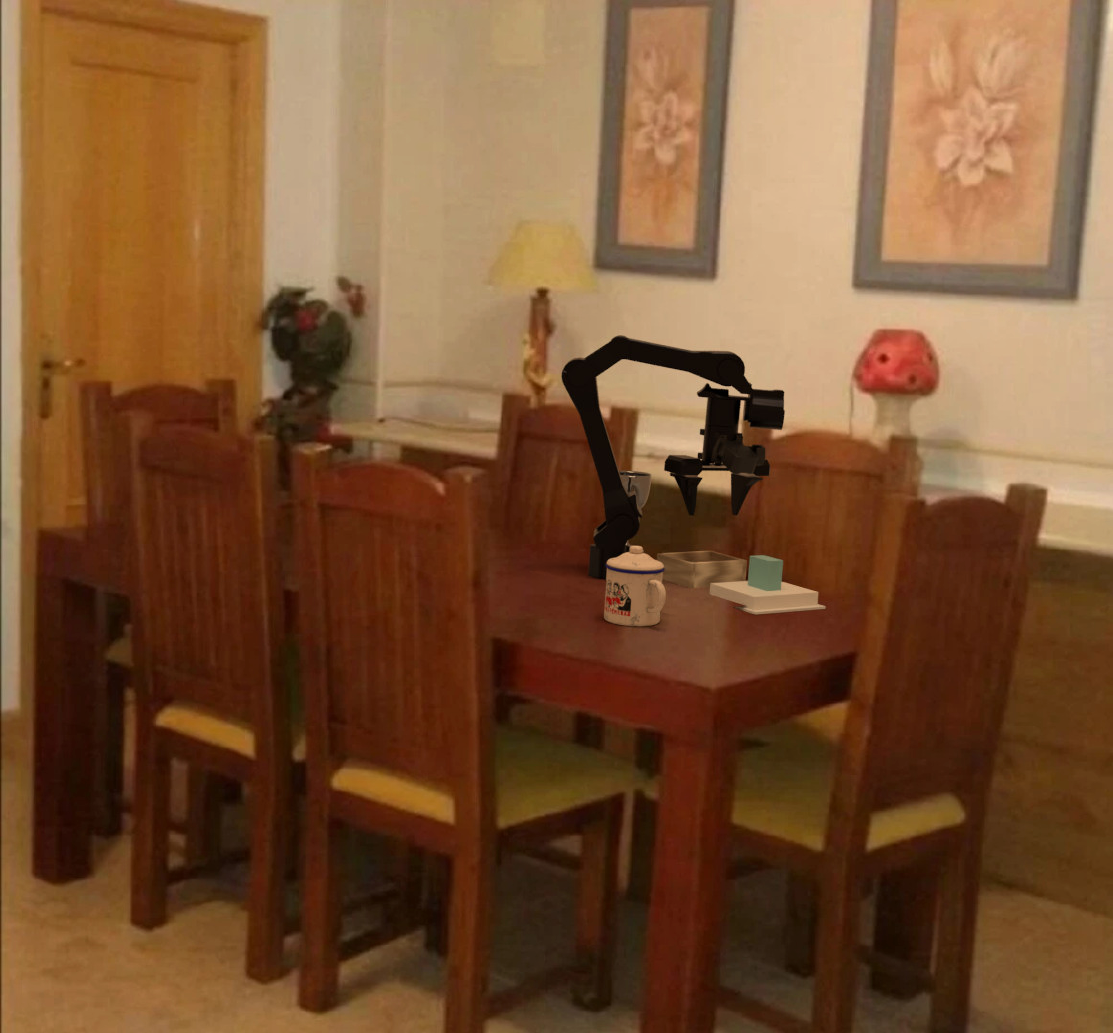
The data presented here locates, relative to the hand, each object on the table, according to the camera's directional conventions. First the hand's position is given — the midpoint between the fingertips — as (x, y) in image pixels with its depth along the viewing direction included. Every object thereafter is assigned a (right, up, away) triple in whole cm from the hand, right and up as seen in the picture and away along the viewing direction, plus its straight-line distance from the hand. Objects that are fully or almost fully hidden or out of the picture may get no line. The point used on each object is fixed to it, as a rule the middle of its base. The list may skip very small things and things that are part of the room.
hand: (713, 515), depth 282 cm
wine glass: (-14, -7, +36) cm, 39 cm away
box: (-2, -12, +3) cm, 13 cm away
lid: (+7, -14, -9) cm, 19 cm away
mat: (+7, -15, -9) cm, 19 cm away
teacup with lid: (-15, -17, -30) cm, 38 cm away
